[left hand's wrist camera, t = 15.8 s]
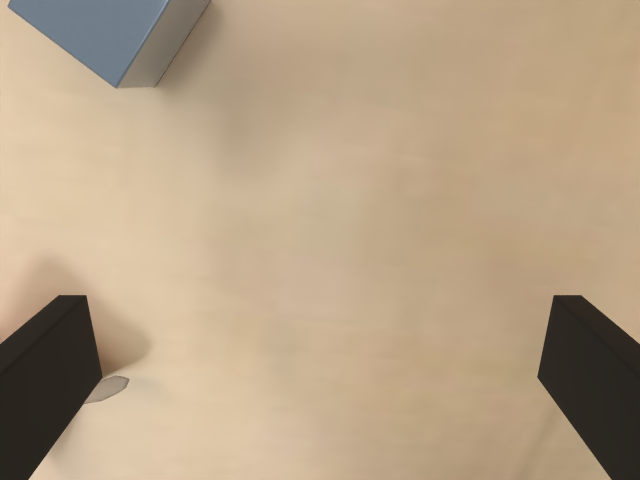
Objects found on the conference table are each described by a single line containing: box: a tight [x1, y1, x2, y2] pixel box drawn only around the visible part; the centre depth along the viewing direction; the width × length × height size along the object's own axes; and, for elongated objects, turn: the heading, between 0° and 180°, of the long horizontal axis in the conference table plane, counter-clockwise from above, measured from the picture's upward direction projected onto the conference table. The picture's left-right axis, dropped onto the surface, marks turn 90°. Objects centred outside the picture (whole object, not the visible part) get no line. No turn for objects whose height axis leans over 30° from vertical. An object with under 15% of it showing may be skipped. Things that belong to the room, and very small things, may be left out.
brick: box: [8, 0, 210, 88], centre depth 18 cm, size 4×5×4 cm
